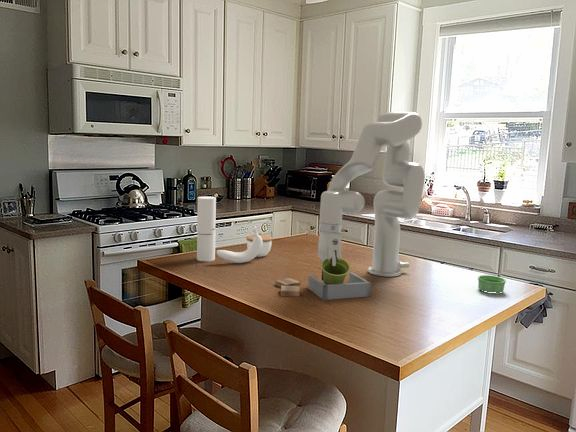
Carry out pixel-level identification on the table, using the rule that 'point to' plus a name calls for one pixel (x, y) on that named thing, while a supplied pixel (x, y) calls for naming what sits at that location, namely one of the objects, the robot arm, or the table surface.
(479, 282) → the ramekin
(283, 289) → the tile
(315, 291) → the u-shaped fence
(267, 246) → the lidded jar
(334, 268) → the plant pot
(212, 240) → the cylindrical container
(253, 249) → the white curved piece
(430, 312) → the table surface
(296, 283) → the tile
